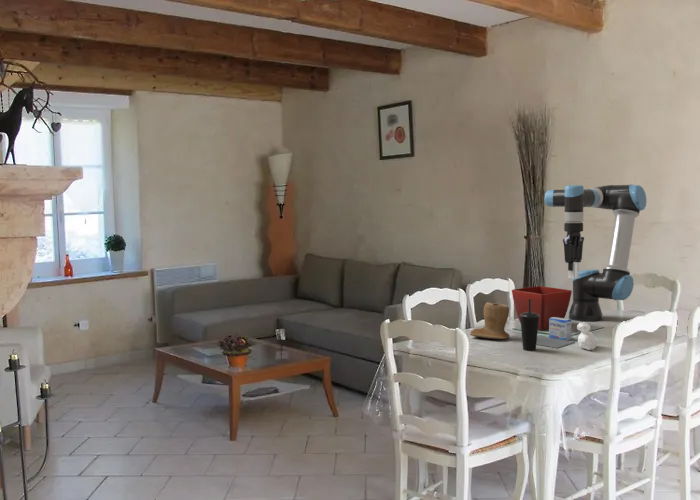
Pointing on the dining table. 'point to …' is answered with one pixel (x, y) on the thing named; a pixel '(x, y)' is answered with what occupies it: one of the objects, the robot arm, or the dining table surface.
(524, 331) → the drinking cup
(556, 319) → the medicine box
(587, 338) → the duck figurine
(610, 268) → the robot arm
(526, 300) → the plant pot
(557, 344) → the mat
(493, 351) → the dining table surface
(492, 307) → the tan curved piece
